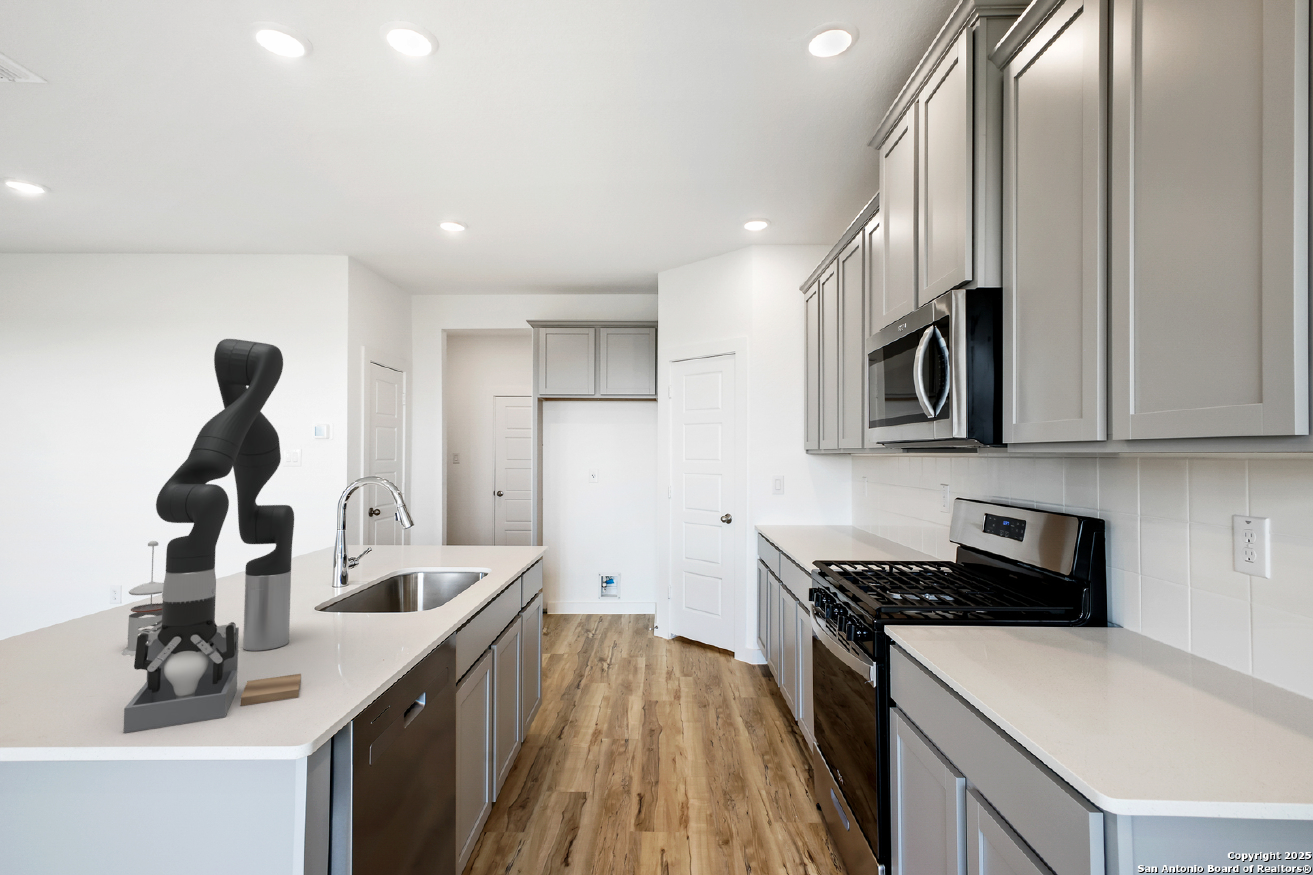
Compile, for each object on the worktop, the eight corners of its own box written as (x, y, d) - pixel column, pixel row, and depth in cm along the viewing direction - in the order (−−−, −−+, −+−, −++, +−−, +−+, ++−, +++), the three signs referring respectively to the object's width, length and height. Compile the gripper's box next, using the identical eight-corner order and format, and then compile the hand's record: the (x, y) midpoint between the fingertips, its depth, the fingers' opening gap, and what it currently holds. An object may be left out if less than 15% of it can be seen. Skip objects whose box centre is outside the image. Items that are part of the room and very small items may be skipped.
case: (146, 702, 110) (149, 636, 111) (236, 689, 116) (238, 627, 117) (123, 733, 98) (126, 658, 98) (225, 717, 104) (227, 647, 105)
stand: (247, 688, 117) (247, 680, 117) (300, 681, 121) (301, 673, 121) (240, 705, 109) (240, 697, 109) (298, 697, 113) (298, 689, 113)
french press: (111, 652, 137) (115, 542, 138) (168, 638, 148) (172, 536, 149) (137, 658, 133) (141, 545, 134) (194, 643, 144) (197, 538, 145)
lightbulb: (178, 702, 110) (180, 642, 111) (215, 701, 111) (217, 641, 111) (152, 717, 104) (154, 653, 104) (191, 716, 104) (193, 652, 105)
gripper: (240, 587, 115) (237, 674, 114) (144, 594, 108) (141, 686, 107) (234, 595, 108) (231, 687, 107) (132, 603, 101) (128, 701, 101)
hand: (186, 686), depth 107 cm, fingers open, 8 cm apart
